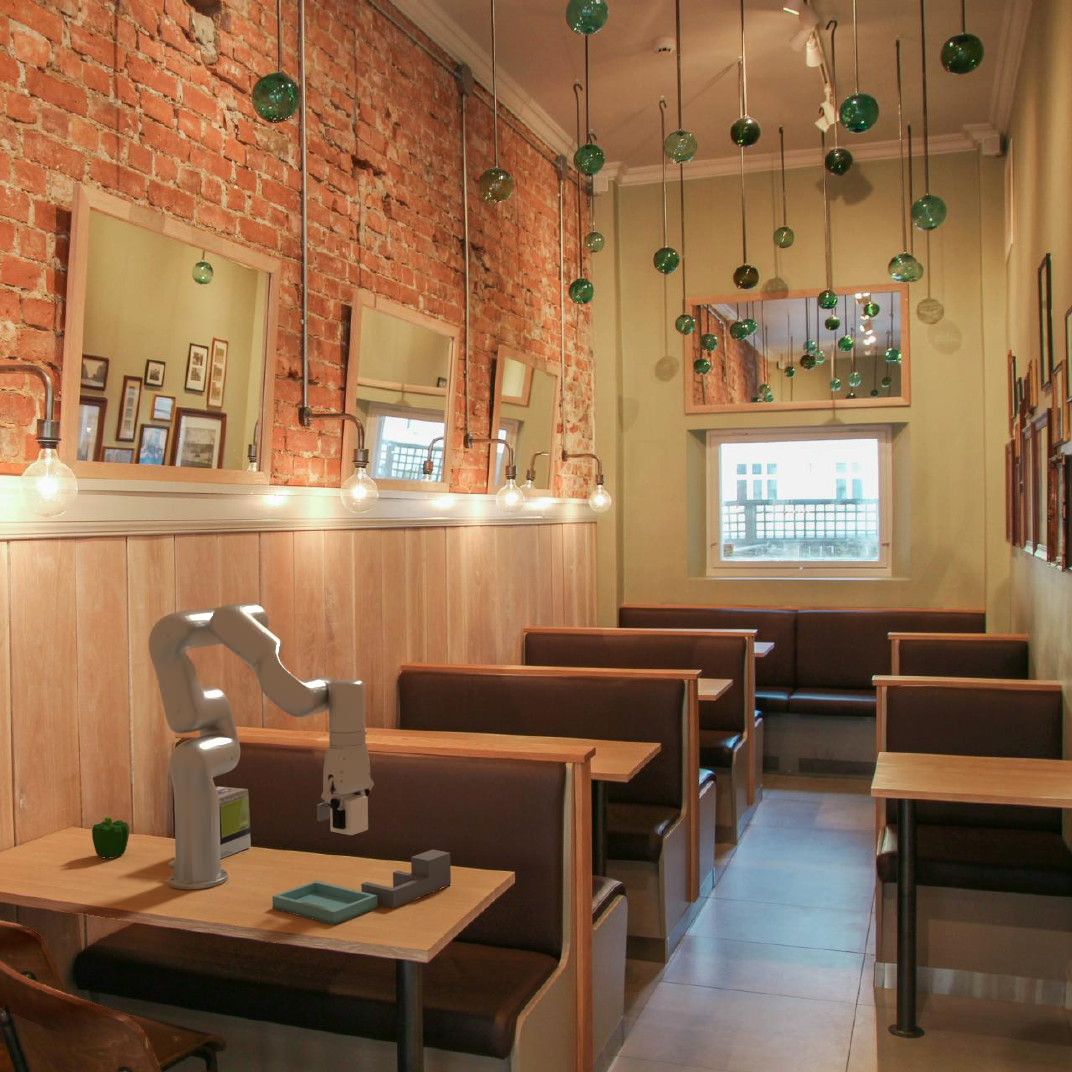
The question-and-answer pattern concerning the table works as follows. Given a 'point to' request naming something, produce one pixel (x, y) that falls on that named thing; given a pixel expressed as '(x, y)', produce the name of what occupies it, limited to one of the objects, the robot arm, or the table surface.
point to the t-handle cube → (348, 814)
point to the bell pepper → (110, 837)
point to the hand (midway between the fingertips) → (348, 824)
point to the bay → (414, 879)
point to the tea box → (233, 820)
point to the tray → (325, 902)
